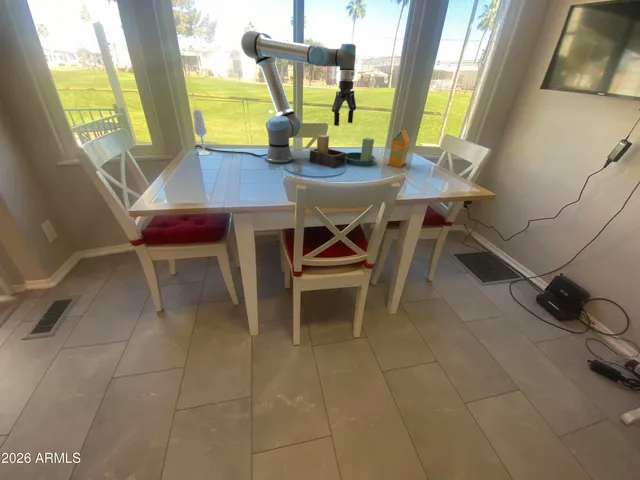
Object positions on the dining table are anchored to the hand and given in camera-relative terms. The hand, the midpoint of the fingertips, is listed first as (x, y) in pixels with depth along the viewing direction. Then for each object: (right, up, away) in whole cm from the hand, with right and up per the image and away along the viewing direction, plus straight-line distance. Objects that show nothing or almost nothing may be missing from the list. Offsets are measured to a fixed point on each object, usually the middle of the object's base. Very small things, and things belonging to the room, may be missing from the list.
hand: (343, 124), depth 152 cm
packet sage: (+14, -19, +11) cm, 26 cm away
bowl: (+11, -17, +14) cm, 25 cm away
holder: (-9, -19, +10) cm, 23 cm away
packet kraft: (-12, -17, +12) cm, 24 cm away
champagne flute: (-84, -12, +13) cm, 86 cm away
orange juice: (+33, -19, +13) cm, 41 cm away
